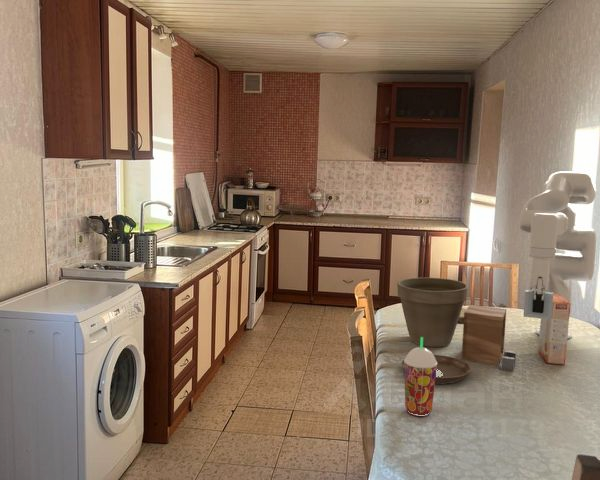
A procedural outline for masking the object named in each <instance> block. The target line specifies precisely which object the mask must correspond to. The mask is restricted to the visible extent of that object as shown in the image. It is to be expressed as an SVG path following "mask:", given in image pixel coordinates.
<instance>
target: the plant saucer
mask: <svg viewBox="0 0 600 480" xmlns="http://www.w3.org/2000/svg"><path fill="white" fill-rule="evenodd" d="M433 355H434V356H435V359H436V361H437V362H438V363H437V369H438V370H440V371H441V372H442V373H443V376H441V377H439V376H438V377H436V379H435V383H444V384H443V385H446V384H445V383H451V384H455V383H458V382H461V381H462V380H463V379H465V378H466V377H467V376H468V374H469V373H470V372H471V366H470V365H469V364H468V363H467V362H465V361H464V360H462V359H458V358H456V357H452V356H449V355H448V356H447V355H442V354H441V355H440V354H433ZM400 364H401V366H402V369H403V370H404V371H405V368H404V364H405V362H404V359H403V360H401V363H400ZM438 370H437V371H438ZM442 373H441V374H442ZM454 382H455V383H454Z"/></svg>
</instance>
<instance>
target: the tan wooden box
mask: <svg viewBox="0 0 600 480" xmlns="http://www.w3.org/2000/svg"><path fill="white" fill-rule="evenodd" d="M466 309H467V310H466V311H465V312H464V324H463V325H462V326H463V328H462V331H463V332H462V345H461V361H464V360H465V361H470V362H476V363H481V364H489V365H495V366H499V365H500V362H501V359H502V357H503V356H504V351H505V335H506V322H507V321H506V320H507V309H506V308H501V307H491V306H483V305H473V304H470V305H468V306H467V308H466Z"/></svg>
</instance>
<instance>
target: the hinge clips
mask: <svg viewBox="0 0 600 480" xmlns="http://www.w3.org/2000/svg"><path fill="white" fill-rule="evenodd" d="M516 361H517V352H516V351H511V350H504V352H503V357H502V359H501V362H500V365H498V370H501V371H506V372H507V371H508V372H514V371H515V366H516Z"/></svg>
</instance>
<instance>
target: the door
mask: <svg viewBox="0 0 600 480" xmlns="http://www.w3.org/2000/svg"><path fill="white" fill-rule="evenodd" d="M541 293H542V292H541ZM533 299H534V289H532V290H530V289H525V291H524V301H523V302H524V304H523V305H524V306H523V317H525V318H533V319H540V320H541V319H549V320H551V317H552V304H553V292H544V299H543V300H544V311H543V313H536V312H532V307H533Z"/></svg>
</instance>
